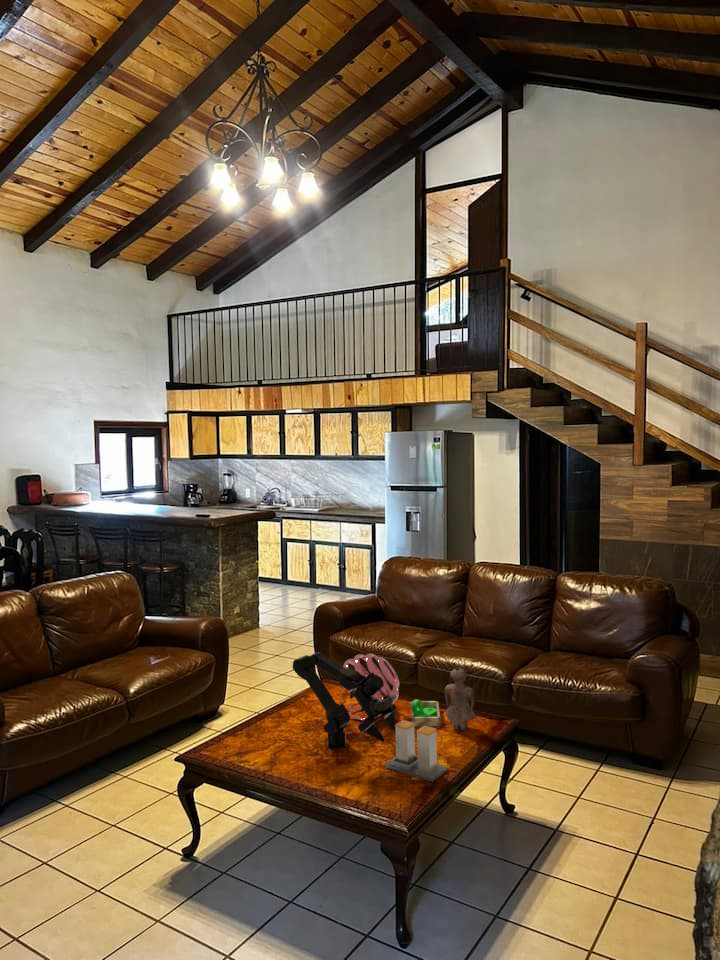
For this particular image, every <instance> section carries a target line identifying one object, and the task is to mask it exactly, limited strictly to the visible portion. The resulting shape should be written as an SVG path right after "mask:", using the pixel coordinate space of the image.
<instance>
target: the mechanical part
mask: <svg viewBox="0 0 720 960" xmlns="http://www.w3.org/2000/svg"><path fill="white" fill-rule="evenodd" d="M412 701H413V702H412V705H411V704H410V709H411V710H410V712H411V711H414V717H436V716H437V710H436V709H435V708H432V707H426V708H424V709H423V703H422V701H423V700H420V699H417V698H416V699H414V700H412Z"/></svg>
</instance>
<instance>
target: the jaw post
mask: <svg viewBox="0 0 720 960" xmlns="http://www.w3.org/2000/svg"><path fill="white" fill-rule="evenodd" d="M414 725H415V723H413V722H412V721H410V720H409V721H408V720H404V719H402V720H401V721H399V722H396V725H395V728H396V732H395V757H396V761H397V762H400V763H403V764H407V765H411V764H412V763H413V762H415V755H416V743H415V741H416V739H415V738H416V737H415V726H414Z"/></svg>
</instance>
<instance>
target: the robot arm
mask: <svg viewBox="0 0 720 960" xmlns="http://www.w3.org/2000/svg"><path fill="white" fill-rule="evenodd" d="M317 667H319V668H320V669H321V670H323V671H324V672H326V673H327V674H330V675H331V676H333V677H334V678H335V679H337V681H338V683H339V685H340V686H341V687H342V688H343V689H345V690H346V691H349V693H350V694H349V699H350V700H352V699H355V701H356V703H358V705H359V707H362V709H361V710H360V712H361V713H363V712H364V713H365V715H366V716H367V717H366V719H365V720H363V721H362V720H361V722H360V723H359V724H358V725H357V728H358V730H359V731H360V733H363V734H367V735H369V736H371V737H373V738H375V739H377V740H378V741H380V742H381V743H385V742H386V740H385V737H384V736H383V734H382V733H381V731H380V729H379V728H378V722H377V721H379V720H380V719H383V722H384V723H385V724H387V726H388V727H389V728H391V730H392V731H393V732H395V733H396V728H395V725H396V724H397V722H396V721H397V720H396V713H397V709H398V707H397V705H395V703H394V704H392V701H393V700H392V698H391V697H390V696H389V695H384V696H382V697H383V700H380V701H379V700H378V699H377V698H375V699H374V698H373V697H372V695H374V694H376V693H377V692H378V691H381V688H382V687H383V685H384V682H383V680H382V678H381V677H379V676H378V675H374V673H373V672H372V673H370V672H369V675H368V676H367V677H366V676H363V675H361V674H360V673H359V672H357V671H356V670H355V669H353V668H349V669H347V668H344V666H342V665H340V664H338V663H337V662H336V661H334V660H332V659H331V658H329V657H327V655H324V653H323V652H320V651H318V652H315V653H313V654H311V655H308V654H306V655H303V656H301V657H298V658H296V659H294V660H293V662H292V670H293V671H294V672H295V674H296V675H297V676H298V677H299V678H301V679H303V680H305V681H306V683H307V685H308V686H309V687H310V689H311V690H312V692H313V693H314V695H315V696H316V698H317V699H318V701H319V702H320V704H321V706H322V707H323V708H324V711H325V717H326V720H327V722H326V724H324V726H323V730H324V733H327V746H326V747H327V748H329V749H334V748H336V749H337V748H339V749H343V748H345V745H346V743H347V742H346V741H347V737H346V735H347V733H346V732H347V731H345V728H347V727H348V724H349V723H350V721H351V719H350V718H351V716H350V715H349V713H348V712H350V711H349V710H348V708H347V707H346V705H345V704H343V703H340V704H339V703H337V702H336V701H335V699H334V698H333V696H332V695H331V693H330V692H329V690H328V689H327V687H326V686H325V684H324V683H323V681H322V680H321V678H320V677H319V675H318V674H317ZM353 688H357V689H356V690H352V691H351V689H353Z"/></svg>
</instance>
